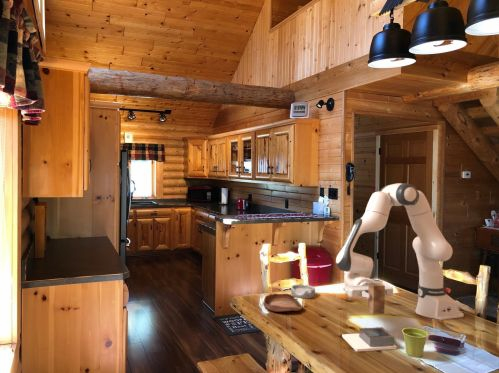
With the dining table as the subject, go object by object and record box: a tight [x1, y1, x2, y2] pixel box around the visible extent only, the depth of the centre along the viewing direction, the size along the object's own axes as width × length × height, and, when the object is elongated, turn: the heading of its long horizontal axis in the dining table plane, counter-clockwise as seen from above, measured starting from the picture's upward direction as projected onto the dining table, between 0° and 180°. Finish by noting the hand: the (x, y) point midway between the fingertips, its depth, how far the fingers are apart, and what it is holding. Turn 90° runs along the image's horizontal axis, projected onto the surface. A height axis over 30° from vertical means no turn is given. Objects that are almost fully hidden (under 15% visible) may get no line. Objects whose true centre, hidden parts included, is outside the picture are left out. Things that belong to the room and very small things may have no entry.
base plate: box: [341, 333, 397, 353], centre depth 169 cm, size 17×15×1 cm
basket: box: [263, 293, 304, 313], centre depth 213 cm, size 22×20×5 cm
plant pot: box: [401, 327, 429, 358], centre depth 158 cm, size 9×9×9 cm
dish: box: [290, 283, 316, 299], centre depth 236 cm, size 14×14×5 cm
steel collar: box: [358, 326, 395, 347], centre depth 169 cm, size 10×10×4 cm
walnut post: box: [367, 283, 386, 315], centre depth 174 cm, size 5×5×12 cm
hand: (377, 296), depth 173 cm, fingers closed on walnut post, 5 cm apart
